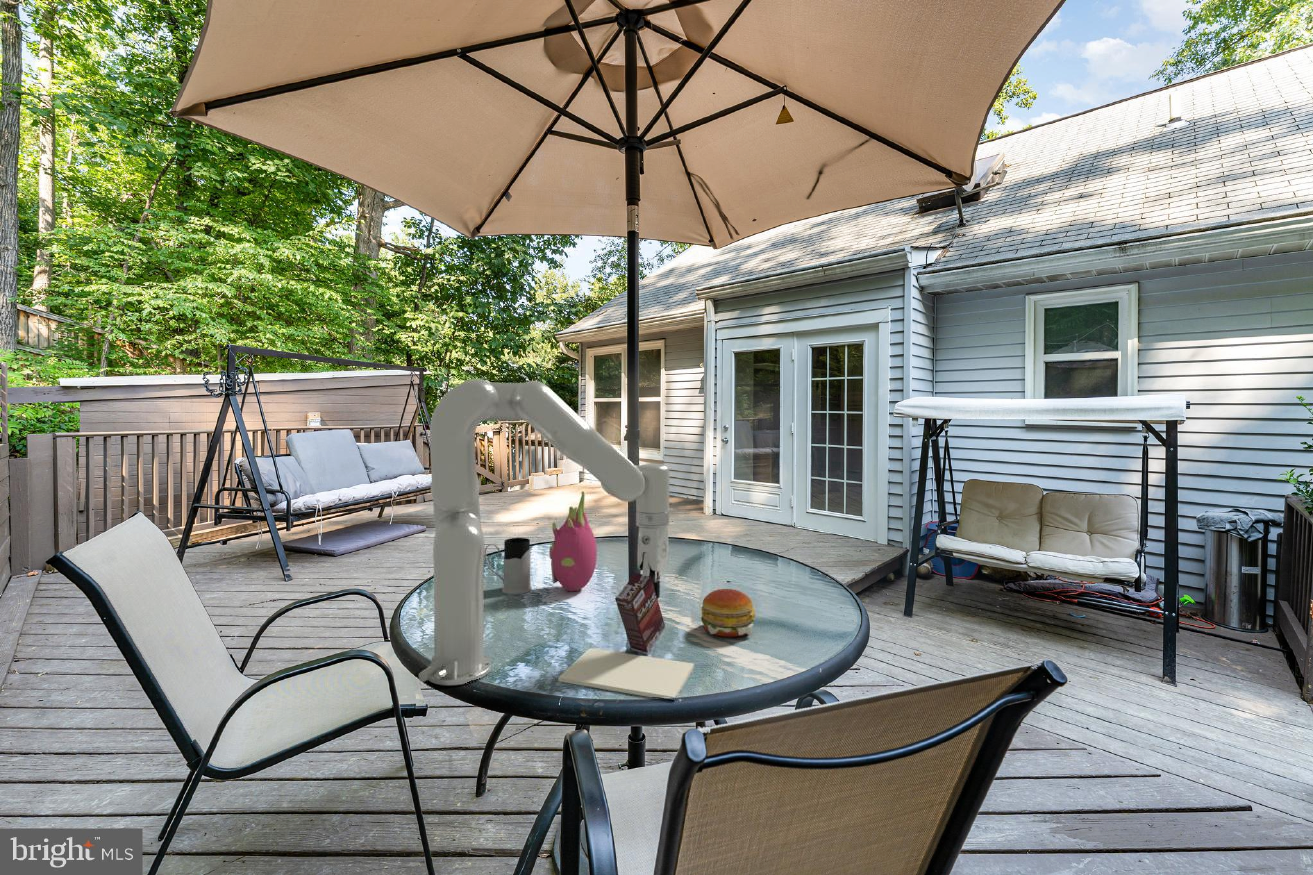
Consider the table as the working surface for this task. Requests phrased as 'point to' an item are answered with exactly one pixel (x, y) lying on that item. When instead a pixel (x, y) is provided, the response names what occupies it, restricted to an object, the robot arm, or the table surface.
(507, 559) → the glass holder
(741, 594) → the burger
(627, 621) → the supplement box
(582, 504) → the pink dragon fruit
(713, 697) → the table surface
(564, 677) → the placemat
